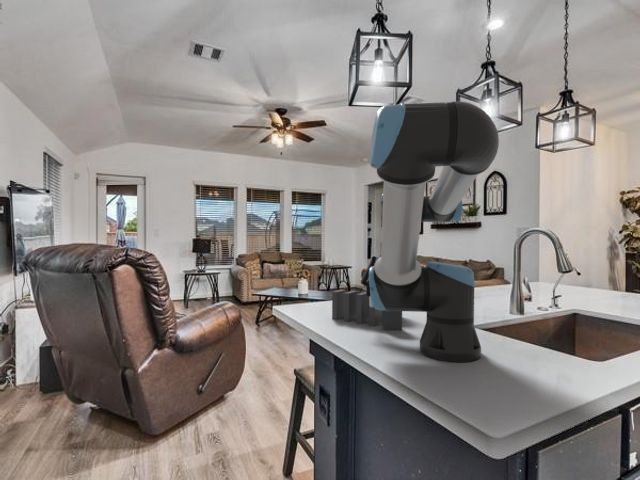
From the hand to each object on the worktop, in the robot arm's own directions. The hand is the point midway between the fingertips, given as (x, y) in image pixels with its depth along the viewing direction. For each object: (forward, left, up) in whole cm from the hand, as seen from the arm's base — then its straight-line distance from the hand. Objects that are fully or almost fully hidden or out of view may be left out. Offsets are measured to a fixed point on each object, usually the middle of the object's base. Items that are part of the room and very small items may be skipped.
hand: (392, 306), depth 118 cm
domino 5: (0, 0, -7) cm, 7 cm away
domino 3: (+10, +8, -7) cm, 14 cm away
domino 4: (+7, +4, -7) cm, 11 cm away
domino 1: (+16, +16, -7) cm, 24 cm away
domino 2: (+13, +12, -7) cm, 19 cm away
